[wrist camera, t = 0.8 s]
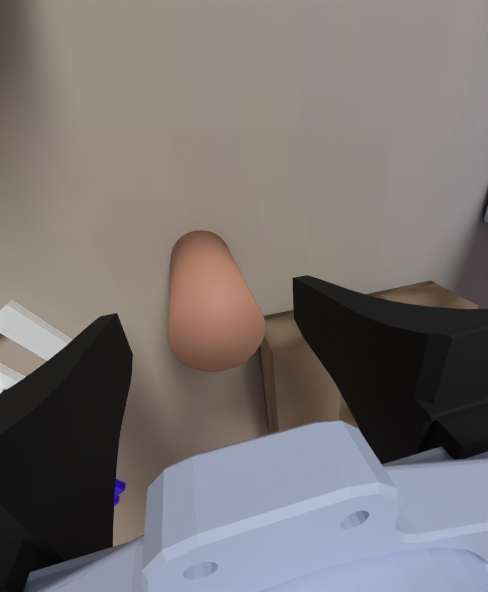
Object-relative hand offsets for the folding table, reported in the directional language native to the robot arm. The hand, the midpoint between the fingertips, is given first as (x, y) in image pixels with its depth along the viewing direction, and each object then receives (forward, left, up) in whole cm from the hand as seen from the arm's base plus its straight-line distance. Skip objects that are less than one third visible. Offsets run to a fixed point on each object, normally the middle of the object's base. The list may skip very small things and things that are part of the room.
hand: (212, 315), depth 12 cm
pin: (0, 0, -7) cm, 7 cm away
